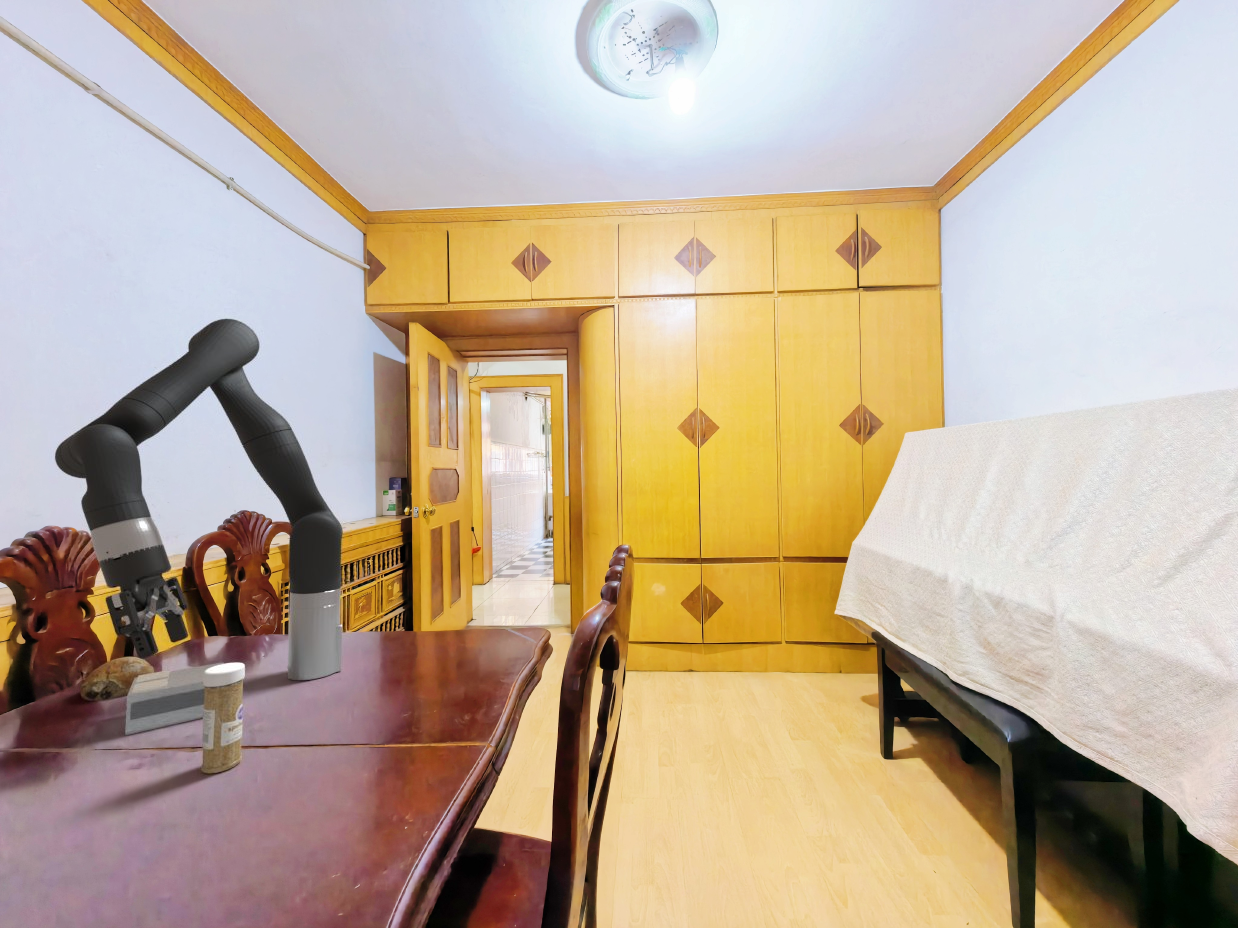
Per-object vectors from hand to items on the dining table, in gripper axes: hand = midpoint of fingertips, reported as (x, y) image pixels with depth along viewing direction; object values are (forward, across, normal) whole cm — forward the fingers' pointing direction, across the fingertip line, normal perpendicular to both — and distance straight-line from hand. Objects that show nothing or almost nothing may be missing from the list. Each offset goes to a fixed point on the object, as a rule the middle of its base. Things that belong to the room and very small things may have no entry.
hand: (165, 647), depth 79 cm
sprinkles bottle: (+17, +14, +8) cm, 23 cm away
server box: (+12, -8, -6) cm, 16 cm away
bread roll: (+7, -24, -21) cm, 33 cm away
